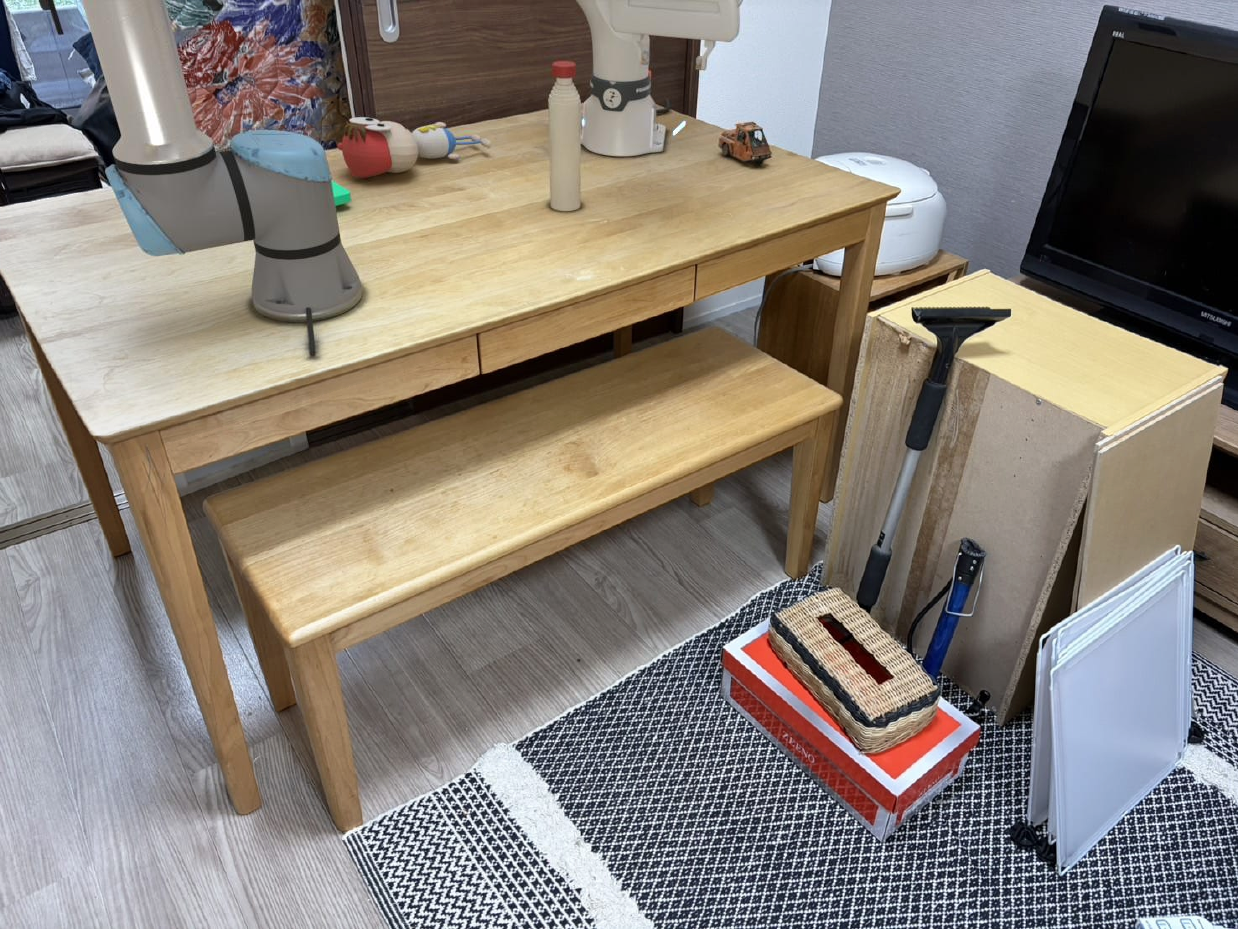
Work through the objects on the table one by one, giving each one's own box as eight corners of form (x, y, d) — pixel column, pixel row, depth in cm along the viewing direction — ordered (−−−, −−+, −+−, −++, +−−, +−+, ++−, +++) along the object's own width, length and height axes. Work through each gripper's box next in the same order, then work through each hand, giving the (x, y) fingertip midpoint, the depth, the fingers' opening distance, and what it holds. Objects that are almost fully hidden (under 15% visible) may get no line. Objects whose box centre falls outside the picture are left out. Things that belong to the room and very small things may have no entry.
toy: (506, 124, 177) (353, 127, 162) (506, 178, 182) (356, 186, 167) (466, 108, 191) (320, 110, 176) (466, 159, 195) (325, 165, 180)
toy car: (734, 147, 194) (738, 113, 189) (776, 163, 186) (781, 128, 182) (712, 153, 190) (715, 118, 186) (754, 169, 183) (758, 134, 179)
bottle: (575, 212, 163) (574, 71, 149) (546, 209, 165) (543, 68, 150) (584, 201, 168) (584, 63, 153) (555, 198, 169) (553, 60, 155)
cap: (571, 79, 151) (571, 67, 150) (549, 77, 152) (549, 65, 151) (578, 73, 154) (578, 61, 153) (556, 71, 155) (556, 59, 154)
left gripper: (151, -134, 141) (187, 17, 154) (-38, -132, 131) (17, 30, 144) (159, -130, 136) (195, 26, 149) (-37, -127, 126) (20, 41, 138)
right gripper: (749, -29, 140) (739, 68, 148) (619, -38, 144) (617, 56, 153) (742, -23, 135) (732, 77, 143) (608, -33, 139) (606, 64, 148)
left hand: (108, 29), depth 146 cm, fingers open, 13 cm apart
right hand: (672, 66), depth 148 cm, fingers open, 8 cm apart
